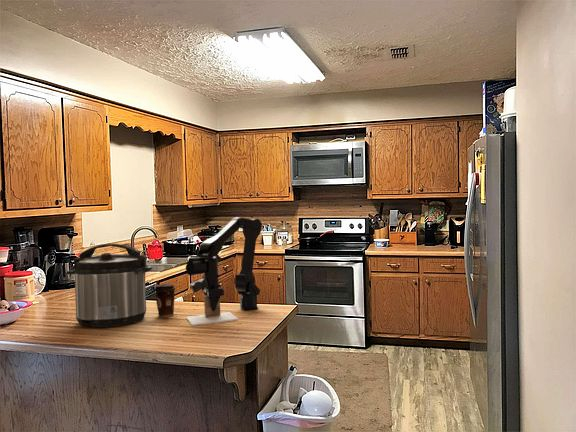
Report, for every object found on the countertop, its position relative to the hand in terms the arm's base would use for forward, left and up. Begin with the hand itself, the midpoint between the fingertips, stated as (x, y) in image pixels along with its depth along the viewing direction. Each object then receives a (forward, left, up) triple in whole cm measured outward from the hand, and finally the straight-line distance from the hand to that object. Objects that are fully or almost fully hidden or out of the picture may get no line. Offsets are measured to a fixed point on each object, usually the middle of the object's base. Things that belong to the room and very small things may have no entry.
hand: (212, 310), depth 194 cm
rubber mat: (+1, +2, -3) cm, 4 cm away
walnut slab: (0, 0, -2) cm, 2 cm away
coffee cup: (+17, -15, -3) cm, 23 cm away
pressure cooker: (+38, -17, -3) cm, 42 cm away
